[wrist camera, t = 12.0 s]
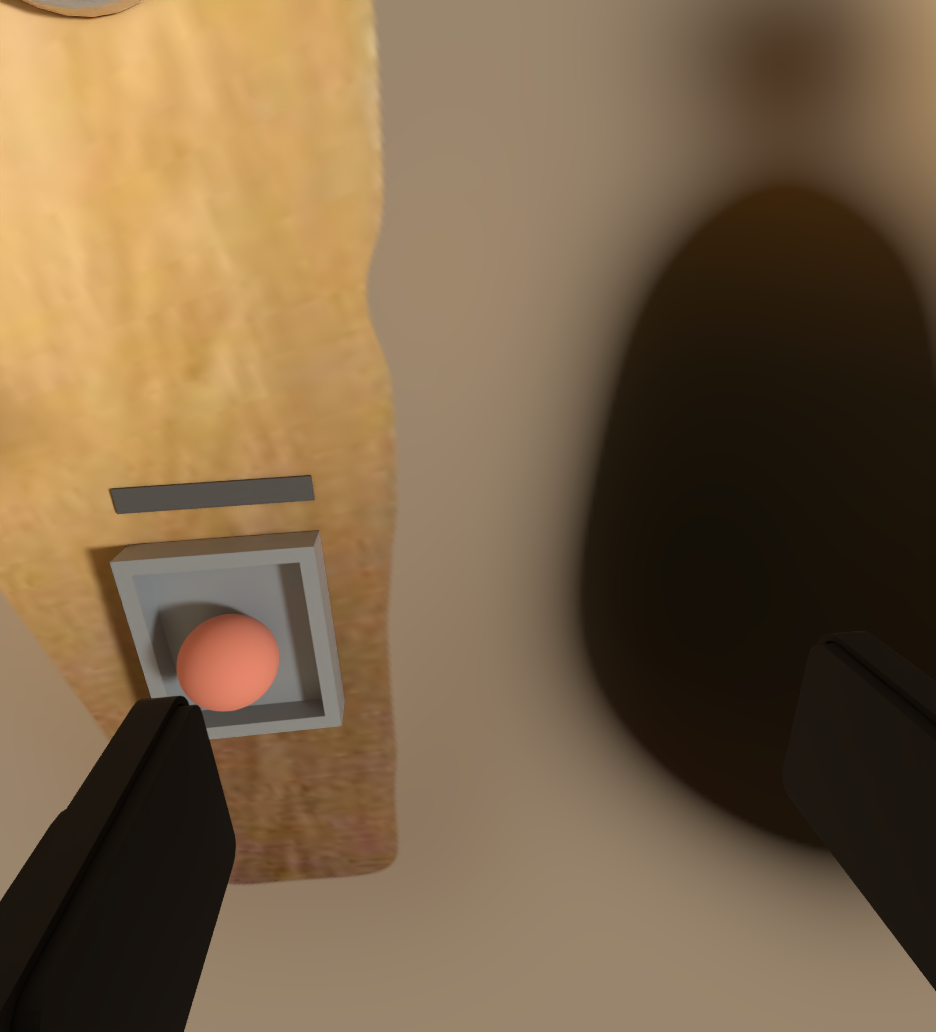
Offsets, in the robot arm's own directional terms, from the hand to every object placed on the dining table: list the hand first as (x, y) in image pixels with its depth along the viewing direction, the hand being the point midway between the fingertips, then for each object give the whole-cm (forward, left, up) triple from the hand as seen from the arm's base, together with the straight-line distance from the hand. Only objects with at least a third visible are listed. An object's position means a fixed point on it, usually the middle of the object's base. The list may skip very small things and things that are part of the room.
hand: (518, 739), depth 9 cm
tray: (+15, -14, -28) cm, 35 cm away
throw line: (+5, -14, -28) cm, 32 cm away
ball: (+15, -14, -25) cm, 32 cm away
